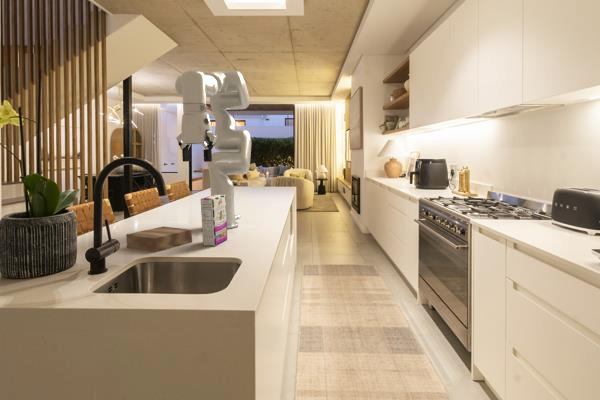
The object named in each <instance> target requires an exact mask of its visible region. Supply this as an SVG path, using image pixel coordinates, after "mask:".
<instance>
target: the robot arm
mask: <svg viewBox="0 0 600 400" xmlns="http://www.w3.org/2000/svg"><path fill="white" fill-rule="evenodd" d="M174 85H175V91H176V93H177V95H178V96H179V97H181V98H182V111H183V112H182V113H183V114H182V116H181V133H180V134H178V135H177V136H176V140H177V144H178V147H180V150H182V151H181V153H182V154H181V155H182V162H191V161H192V160H191V149H190V147H191V145H202V146H203V148H204V149H203V162H205V163H207V168H208V172H209V182H210V196H212V195H226V196H225V197H226V218H227V230H229V229H234V228H237V227H239V223H238V222H236V221H237V220H240V219H241V215H239V214H235V191H234V188H235V187H234V183H233V182H232V179H230V177H229V176H234V175H246V174H248V173H249V171H250V167H251V158H252V157H251V156H252V155H251V154H252V153H251V152H252V136H251V133H250V132H249V131H248V130H246V129H242V128H241V129H236V121H235V118H234V117H233V116H232V115H231V114H230V112H228V111H227V110H245V109H247V108H248V107H249V106H250V102H251V101H250V99H251V98H250V94H249V90H248V87H247V83H246V81H245V78H244V76H243V74H242V73H241V72H240V71H238V70H218V71H217V70H216V71H208V72H206V71H205V72H202V71H199V70H198V71H197V70H188V71H187V70H186V71H184V72H182V74H180V75H179V76H177V78H176V79H175V84H174ZM207 98H209V105H210V109H211V111H212V114H213V117H214V119H215V126H214V127H215V128H214V133H213V131H212V123H211V119H210V115H209V114H208V113H207V110H208V109H209V107H208V105H207ZM213 149H214V150H216V152H212V150H213Z"/></svg>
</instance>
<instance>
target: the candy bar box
mask: <svg viewBox="0 0 600 400" xmlns="http://www.w3.org/2000/svg"><path fill="white" fill-rule="evenodd" d="M225 196H226V195H212V196H211V195H209V196H206V197H202V198H200V209H201V211H200V213H201V214H200V215H201V216H200V217H201V227H202V228H201V229H202V245H203V246H205V247H217V246H218V245H220V244H223V242H225V241H227V240H228V229H227V218H226V197H225Z"/></svg>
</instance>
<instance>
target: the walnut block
mask: <svg viewBox="0 0 600 400" xmlns="http://www.w3.org/2000/svg"><path fill="white" fill-rule="evenodd" d="M192 232H193V231H192V229H189V228H179V227H170V226H159V227H155V228H149V229H145V230H140V231H136V232H131V233H126V234H125V237H126V248H127V249H132V250H133V249H134V250H138V251H144V252H145V251H146V252H153V253H159V252H163V251H166V250H170V249H174V248H178V247H180V246H185V245H187V244H191V243H193V239H192V238H193V234H192Z"/></svg>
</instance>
